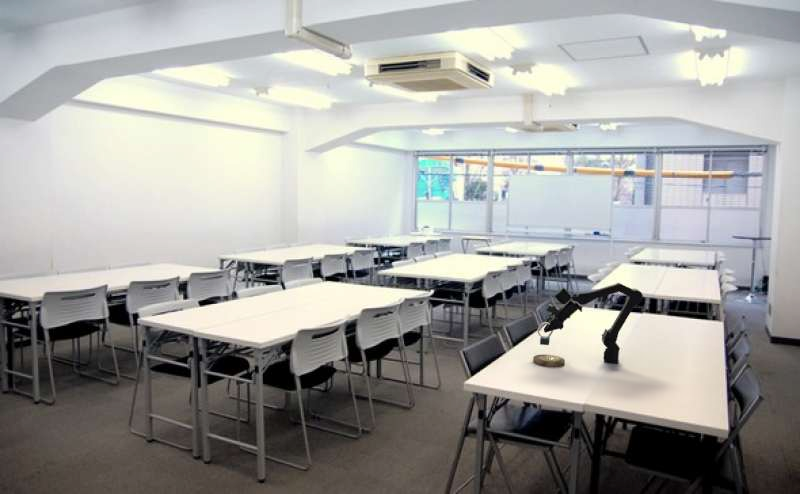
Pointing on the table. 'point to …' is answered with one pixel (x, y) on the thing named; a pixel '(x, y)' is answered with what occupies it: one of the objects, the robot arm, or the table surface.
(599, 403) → the table surface
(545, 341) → the watch
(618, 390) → the table surface
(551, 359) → the round dish
